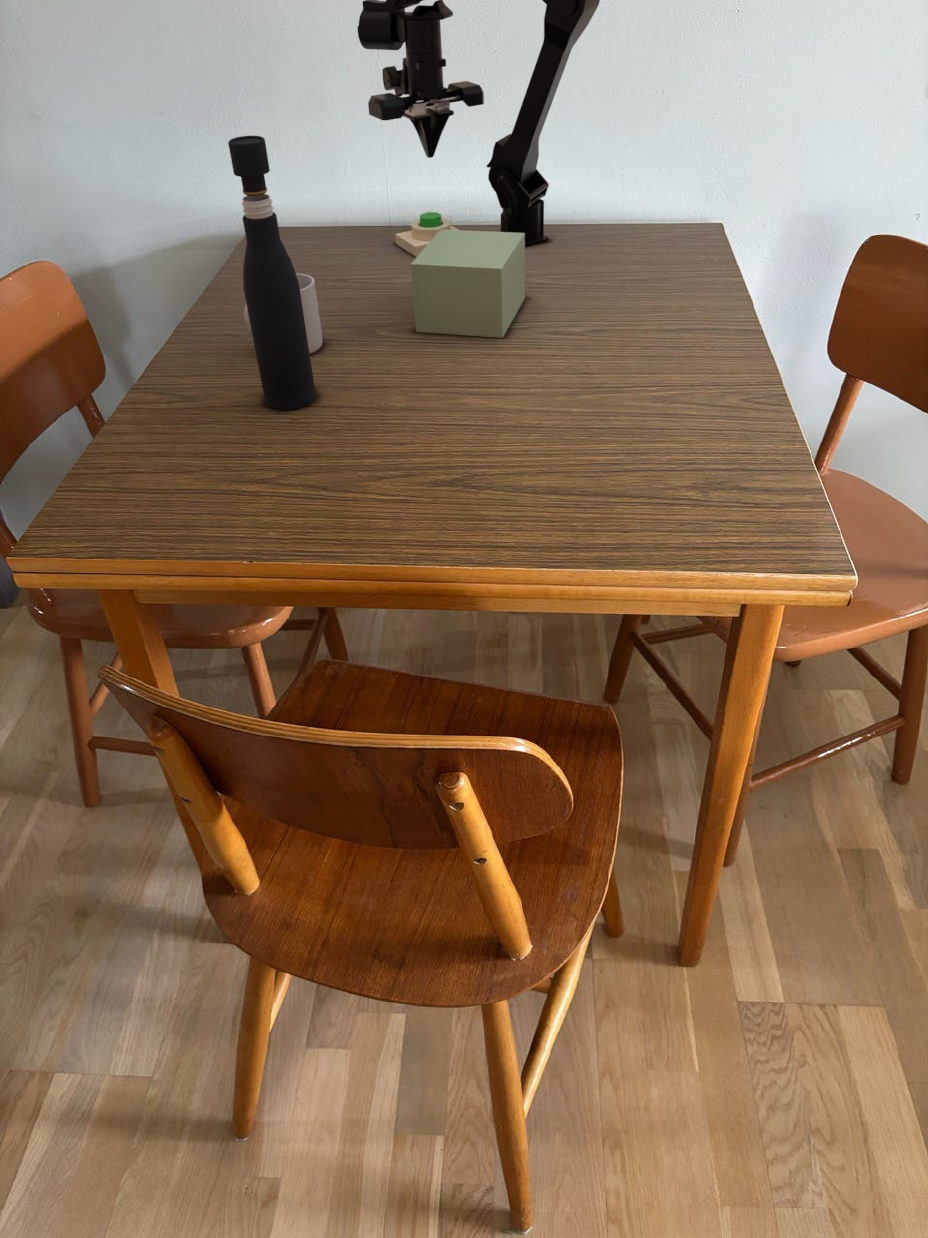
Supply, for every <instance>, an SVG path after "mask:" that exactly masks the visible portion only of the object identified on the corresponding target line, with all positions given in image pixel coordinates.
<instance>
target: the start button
mask: <svg viewBox="0 0 928 1238" xmlns="http://www.w3.org/2000/svg"><path fill="white" fill-rule="evenodd" d="M441 218H442V214H441V213H439V212H435V211H429V212H424V213H421V214H420V215H419V219H420V226H421V227H425V228H433V227H438V226H441V225H442V223H441Z"/></svg>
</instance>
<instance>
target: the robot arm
mask: <svg viewBox="0 0 928 1238" xmlns="http://www.w3.org/2000/svg"><path fill="white" fill-rule="evenodd" d="M424 1H425V0H363V1H362V10H361V12H360V15H359V17H358V18H359V19H358V20H359V21H358V26H357V37H358V40H359V43H360V45H361V46H362V48H363V49H365V50H380V51H399V50H400V49H401V48H402V47H403V45H404V44H405V57H402V68H401V69H397V66H395V65H392V66H385V67H384V68H382V83H383V84H382V85H383V88H384V90H385V91H392V90H394V93H392V92H387V93H381V94H374V95H371V96H370V98H369V100H368V103H367V106H368V115H369V116H371V117H373V118H376V119H378V120H380V121H392V120H397V119H402V118H403V117H404V118H407V119H408V120H409V121H410V122H411V123H412V125H413V127H414V129H415V131H416V133H417V135H418V138H419V140H420V143H421V146H422V149H423V151H424V153H425V156H426V158H428V159H430V158H434V157H435V154H436V150H437V147H438V145H439V142H440V140H441V136H442V134H443V132H444V130H445V127H446V125H447V123H448V120H449V118H450V117H451V116H454V115H455V111H454V110H452V109H451V108H450V107H451V103H458V102H463V103H464V104H465V105H466V106H467V107H475V106H482V105H484V104H485V93H484V90H483V88H482V86H481V85H480V84H477V83H474V82H471V81H468V80H465V81H458V82H457V81H456V82H451V83H449V84H448V86H447V87H444V73H443V72H444V71H443V70H444V69H443V68H445V67H447V59H446V58H444V57H443V51H442V50H443V49H442V33H441V32H442V29H441V28H442V27H441V21H443V20H446V19H448V18H452V17H453V16H454V12H453V11H452V9H451V8H449V6H448V5H446V3H444V0H435V1H434V2H433V4H431V5H425V4H424V5H421V4H420V3H421V2H424ZM541 1H542V2H544V4H545V5H546V7H545V12H544V18H543V41H542V44H541V47H540V51H539V53H538V57H537V59H536V62H535V65H534V69H533V71H532V74H531V76H530V80H529V83H528V86H527V88H526V91H525V94H524V97H523V100H522V102H521V106H520V108H519V111H518V114H517V117H516V120H515V123H514V126H513V129H512V131H511V133H509V134H507V135H505V136H503V137H502V138H500V139H499V140H497V141H495V143H494V146H493V150H492V155H491V159H490V160H489V162H488V163H487V164H486V168H487V169H489V170H488V177H487V178H488V182H489V183H490V187H491V188H492V189H493V191H494V192H495V194H496V197H497V200H498V203H499V206H500V208H501V209H502V212H501V213H500V232H513V233H525V247H527V246H531V245H535V244H539V243H544V242H549V240H550V239H549V238H550V237H549V236H547V235H545V227H544V226H545V200H543V199H542V198H544V197H545V196H546V195H547V192H548V189H549V187H550V185H549V182H548V181H547V180H546V179H545V177H544V176H543V175H542V174H541V173H540V171H539V170H538V169H537V166H538V161H539V155H540V153H539V152H540V149H539V147H540V146H539V145H540V143H539V141H540V138H541V137H540V136H541V134H542V132H543V128H544V125H545V123H546V120H547V117H548V115H549V112H550V109H551V107H552V105H553V101H554V99H555V95H556V93H557V90H558V88H559V85H560V82H561V79H562V77H563V73H564V72H565V68H566V66H567V63H568V60H569V58H570V55H571V52H572V50H573V48H574V46H575V45H576V44H577V42H578V41H579V39H580V37H581V36H582V34H583V33H584V32H585V30H586V29H587V27H588V25H589V24H590V21H591V20H592V18H593V17H594V15H595V12H597V9H598V7H599V5H600V0H541ZM413 6H415V7H414V9H413V10H412V11H406V9H407V8H410V7H413ZM406 95H408V96H406Z"/></svg>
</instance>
